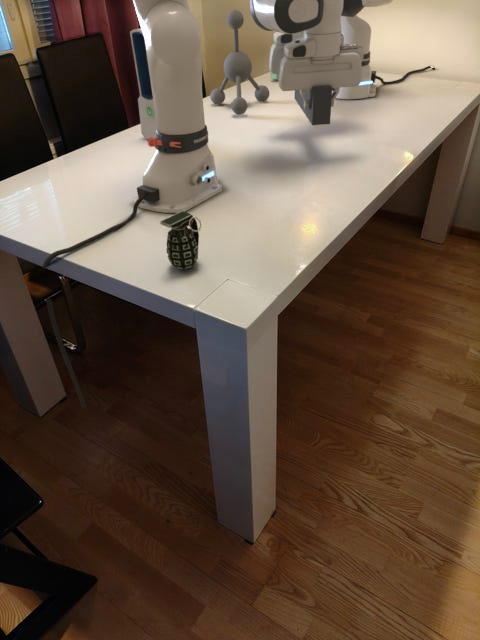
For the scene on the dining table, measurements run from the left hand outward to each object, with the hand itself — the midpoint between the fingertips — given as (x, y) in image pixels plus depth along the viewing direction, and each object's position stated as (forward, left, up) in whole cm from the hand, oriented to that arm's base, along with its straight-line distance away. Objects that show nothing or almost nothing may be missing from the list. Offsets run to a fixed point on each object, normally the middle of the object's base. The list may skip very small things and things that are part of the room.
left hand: (318, 107), depth 124 cm
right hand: (+17, +10, 0) cm, 20 cm away
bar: (+9, +5, -3) cm, 10 cm away
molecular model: (+43, +42, -13) cm, 62 cm away
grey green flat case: (+93, +40, -13) cm, 102 cm away
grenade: (-61, +5, -13) cm, 63 cm away
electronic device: (+3, +51, -13) cm, 53 cm away
